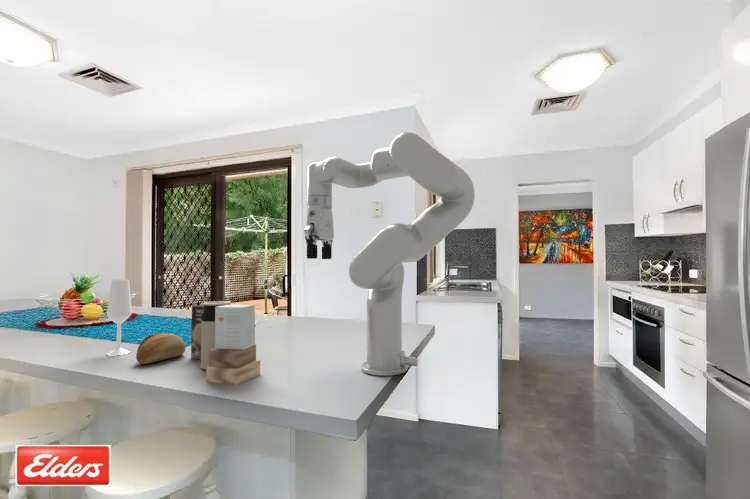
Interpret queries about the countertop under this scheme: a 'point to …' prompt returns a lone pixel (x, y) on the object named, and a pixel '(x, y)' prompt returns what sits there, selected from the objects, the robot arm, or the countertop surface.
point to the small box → (234, 326)
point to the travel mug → (208, 330)
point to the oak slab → (233, 373)
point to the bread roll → (159, 348)
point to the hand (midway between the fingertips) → (319, 258)
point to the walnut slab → (231, 357)
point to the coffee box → (196, 331)
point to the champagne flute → (119, 310)
